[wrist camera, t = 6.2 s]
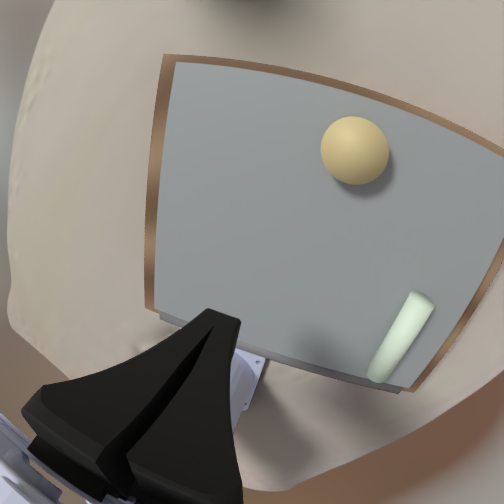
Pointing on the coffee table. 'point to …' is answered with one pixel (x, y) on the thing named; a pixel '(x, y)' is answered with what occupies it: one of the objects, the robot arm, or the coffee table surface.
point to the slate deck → (321, 222)
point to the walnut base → (171, 60)
